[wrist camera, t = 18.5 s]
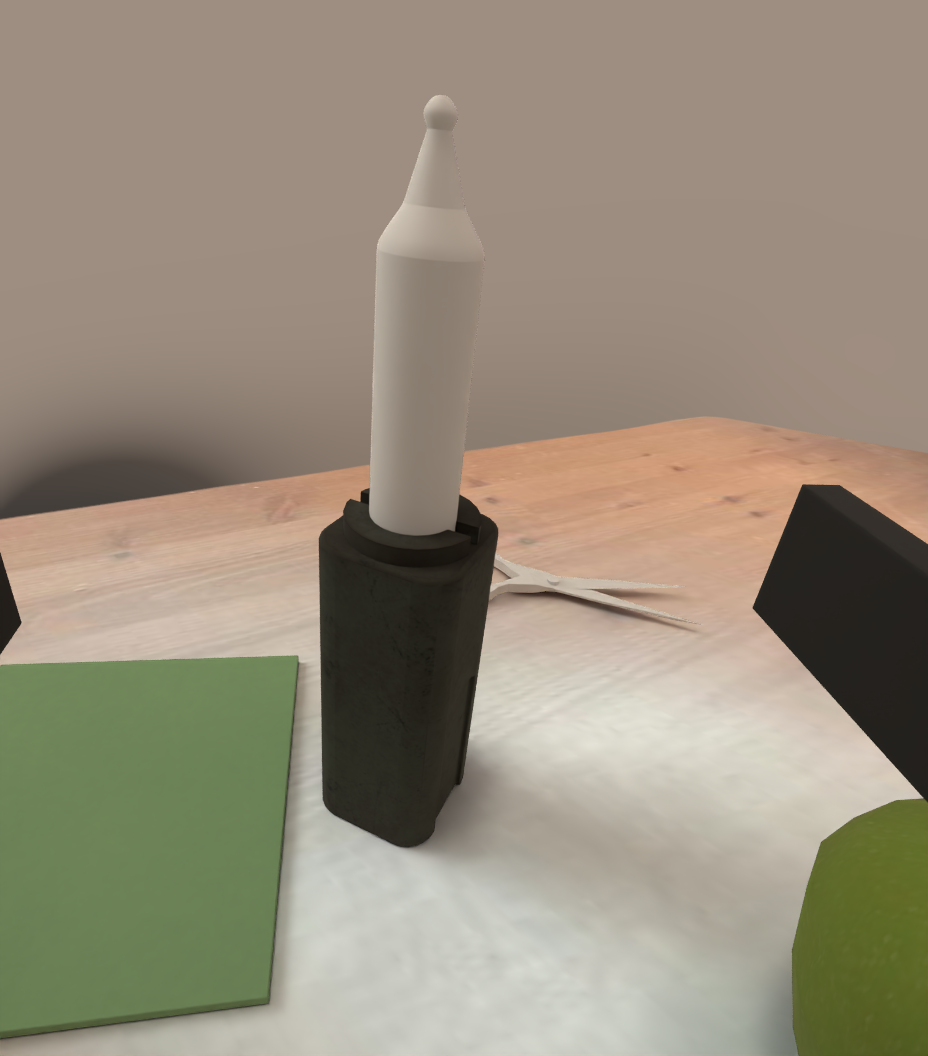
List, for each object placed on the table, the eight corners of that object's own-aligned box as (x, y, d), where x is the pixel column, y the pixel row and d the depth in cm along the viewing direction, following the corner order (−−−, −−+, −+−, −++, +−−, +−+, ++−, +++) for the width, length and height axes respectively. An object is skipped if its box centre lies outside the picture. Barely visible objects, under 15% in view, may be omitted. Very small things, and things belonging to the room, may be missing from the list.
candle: (374, 722, 31) (401, 101, 18) (471, 764, 29) (571, 115, 17) (311, 803, 26) (289, 71, 14) (419, 857, 25) (501, 86, 13)
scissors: (405, 520, 46) (681, 557, 45) (405, 529, 47) (679, 566, 46) (371, 605, 37) (717, 654, 36) (371, 616, 37) (713, 665, 37)
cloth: (-262, 1073, 17) (-269, 1066, 17) (3, 670, 31) (0, 664, 31) (268, 1003, 20) (267, 997, 20) (298, 660, 34) (298, 655, 34)
